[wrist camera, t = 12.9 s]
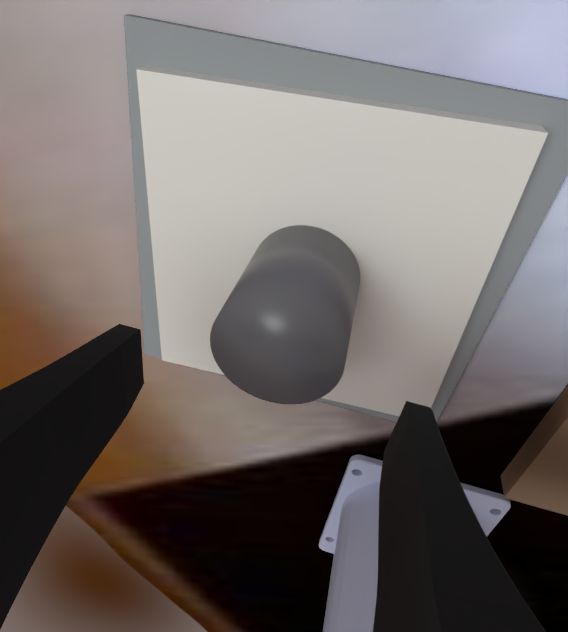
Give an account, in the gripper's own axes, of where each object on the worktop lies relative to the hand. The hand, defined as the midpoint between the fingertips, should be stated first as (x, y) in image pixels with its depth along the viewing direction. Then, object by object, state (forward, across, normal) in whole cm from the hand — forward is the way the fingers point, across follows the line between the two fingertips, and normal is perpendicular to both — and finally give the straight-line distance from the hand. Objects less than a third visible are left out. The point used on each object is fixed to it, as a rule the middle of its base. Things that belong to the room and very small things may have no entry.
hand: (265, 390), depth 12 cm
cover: (+7, 0, 0) cm, 7 cm away
